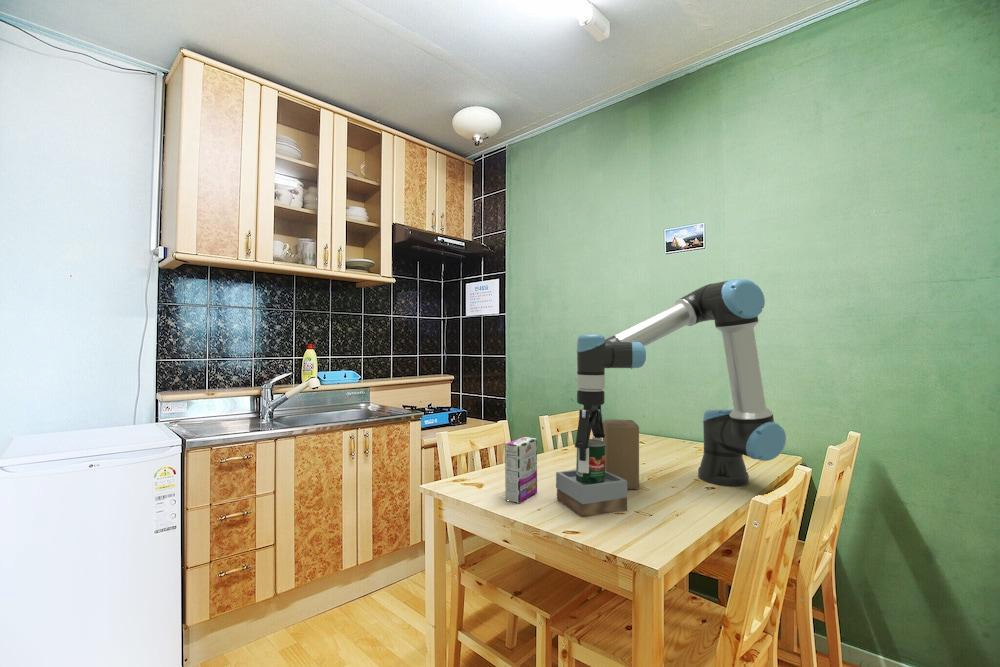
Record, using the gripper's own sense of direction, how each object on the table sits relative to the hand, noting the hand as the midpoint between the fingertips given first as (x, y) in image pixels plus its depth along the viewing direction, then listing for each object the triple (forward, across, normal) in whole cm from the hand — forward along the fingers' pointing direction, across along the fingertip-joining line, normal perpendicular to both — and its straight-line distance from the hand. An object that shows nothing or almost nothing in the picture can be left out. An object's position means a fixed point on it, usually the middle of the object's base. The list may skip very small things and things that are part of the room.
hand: (590, 466), depth 127 cm
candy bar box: (+11, +3, -20) cm, 23 cm away
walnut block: (+11, 0, 0) cm, 11 cm away
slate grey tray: (+7, 0, 0) cm, 7 cm away
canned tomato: (+4, 0, 0) cm, 4 cm away
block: (+11, -22, +4) cm, 25 cm away
